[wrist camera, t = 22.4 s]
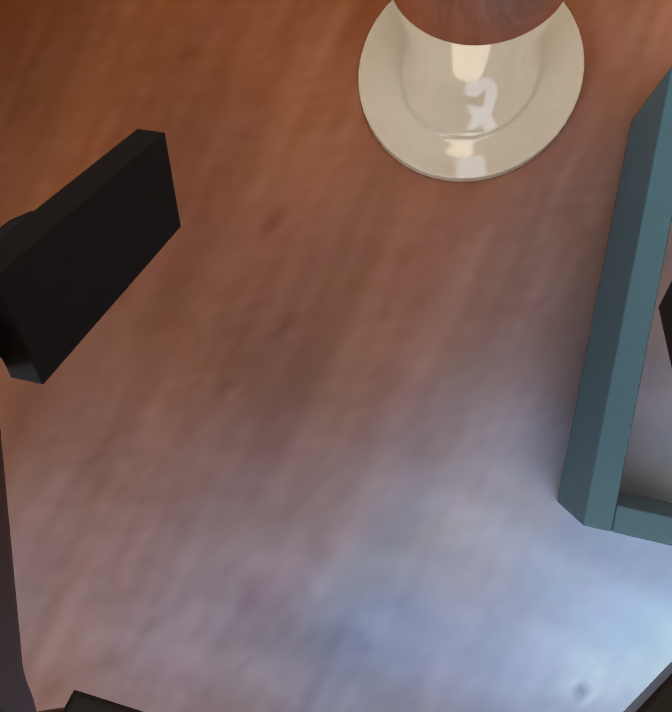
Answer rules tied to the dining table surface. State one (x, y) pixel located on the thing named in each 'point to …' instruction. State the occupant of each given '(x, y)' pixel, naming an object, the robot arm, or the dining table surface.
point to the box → (624, 335)
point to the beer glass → (471, 60)
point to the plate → (468, 153)
